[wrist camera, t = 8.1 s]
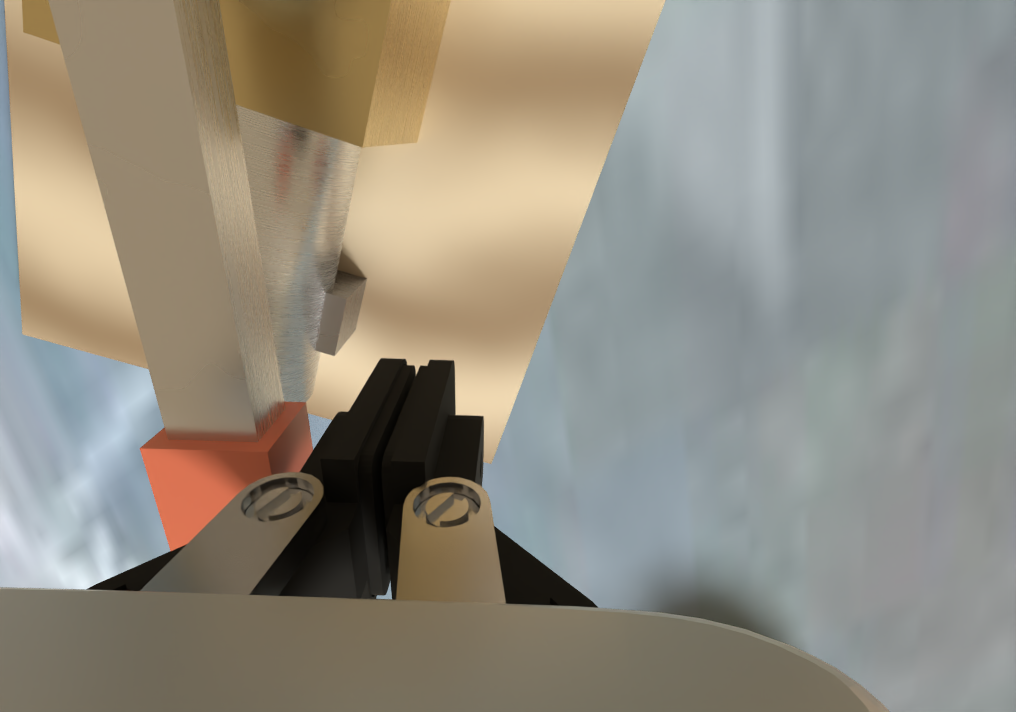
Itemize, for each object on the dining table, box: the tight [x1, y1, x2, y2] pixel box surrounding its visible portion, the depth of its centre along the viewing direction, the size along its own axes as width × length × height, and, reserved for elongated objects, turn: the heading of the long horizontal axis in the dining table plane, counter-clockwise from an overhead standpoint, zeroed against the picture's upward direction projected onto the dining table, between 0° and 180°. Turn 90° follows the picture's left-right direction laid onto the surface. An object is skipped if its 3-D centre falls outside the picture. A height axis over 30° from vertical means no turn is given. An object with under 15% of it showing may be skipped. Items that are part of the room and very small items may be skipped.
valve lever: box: [48, 0, 313, 551], centre depth 9 cm, size 15×3×2 cm, turn 178°
